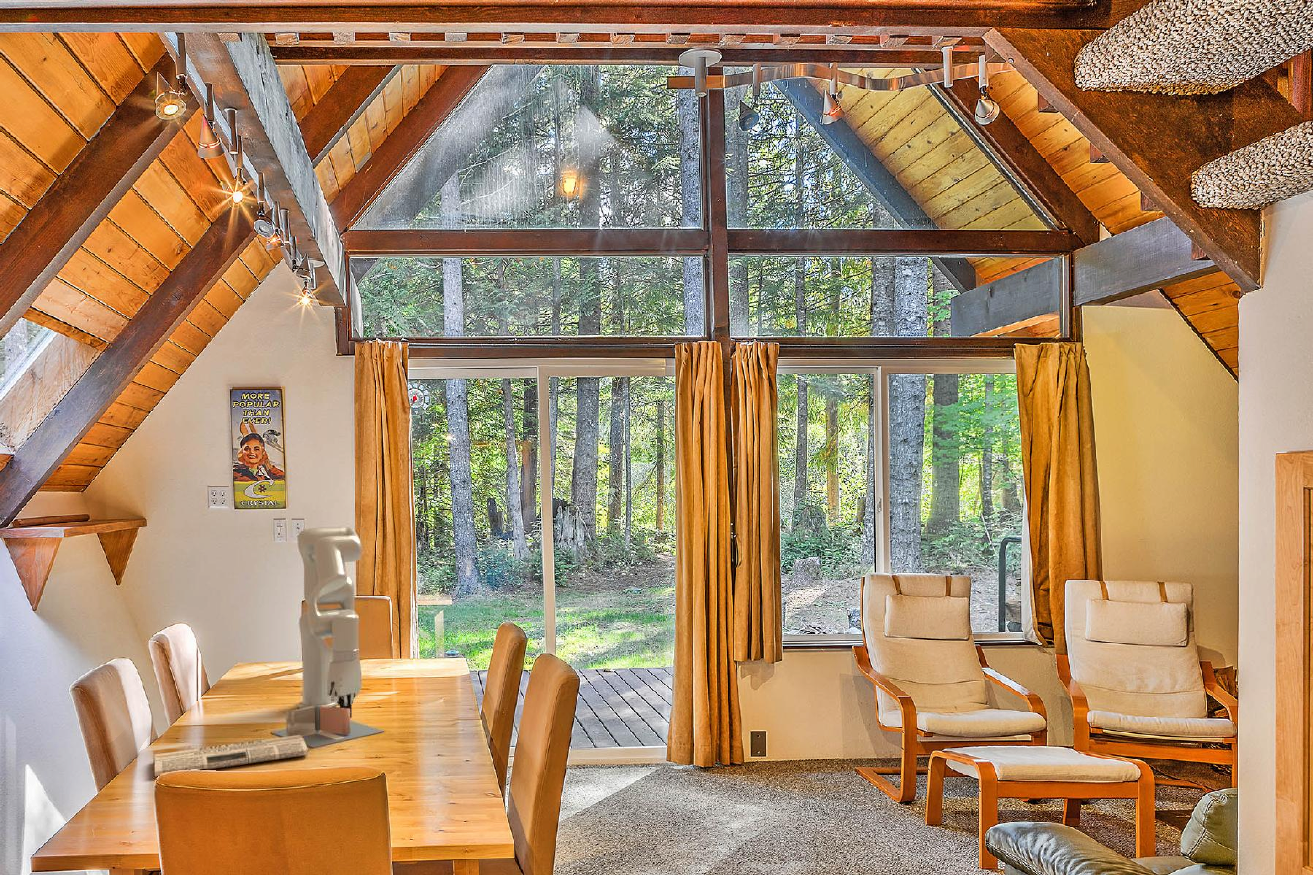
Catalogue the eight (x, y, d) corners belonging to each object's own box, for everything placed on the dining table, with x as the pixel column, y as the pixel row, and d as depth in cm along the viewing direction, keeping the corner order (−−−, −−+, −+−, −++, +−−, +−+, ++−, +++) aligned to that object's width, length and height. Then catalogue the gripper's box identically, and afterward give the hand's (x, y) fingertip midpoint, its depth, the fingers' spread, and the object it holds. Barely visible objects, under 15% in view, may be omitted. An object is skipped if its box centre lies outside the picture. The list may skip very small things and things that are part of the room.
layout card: (267, 733, 296) (267, 732, 296) (340, 718, 313) (340, 717, 313) (309, 749, 278) (309, 747, 278) (384, 732, 295) (384, 730, 295)
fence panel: (313, 730, 296) (313, 706, 296) (318, 728, 298) (318, 705, 298) (346, 734, 290) (346, 710, 290) (351, 732, 292) (351, 708, 292)
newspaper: (154, 779, 253) (154, 768, 253) (154, 760, 270) (154, 750, 270) (307, 757, 269) (307, 746, 269) (298, 740, 286) (298, 730, 287)
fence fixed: (286, 737, 290) (285, 711, 290) (312, 732, 296) (311, 706, 296) (289, 738, 289) (289, 712, 289) (315, 733, 294) (315, 707, 295)
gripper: (353, 650, 305) (353, 711, 304) (316, 659, 291) (317, 723, 291) (372, 652, 301) (373, 713, 301) (336, 661, 288) (337, 725, 288)
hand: (345, 718), depth 296 cm, fingers closed
